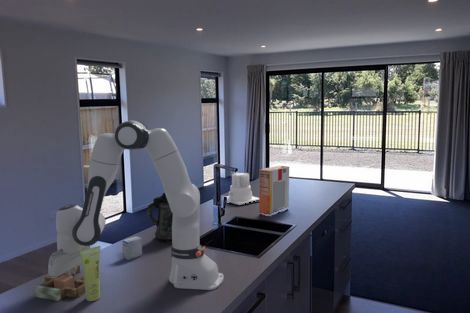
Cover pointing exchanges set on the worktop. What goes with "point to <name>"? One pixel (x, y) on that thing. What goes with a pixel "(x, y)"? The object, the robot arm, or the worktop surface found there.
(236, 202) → the recessed light fixture
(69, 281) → the terracotta block
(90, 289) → the tube
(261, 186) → the pasta box
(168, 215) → the beer stein
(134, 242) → the medicine box
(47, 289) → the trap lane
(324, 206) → the worktop surface
